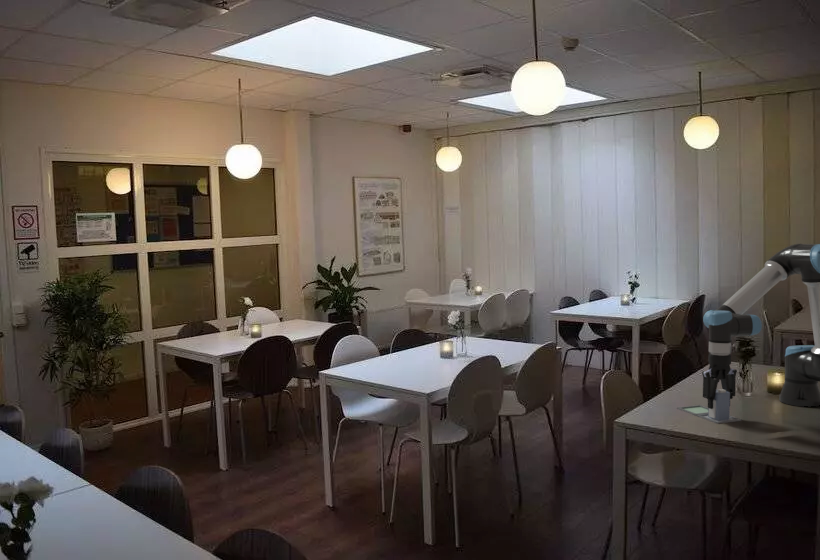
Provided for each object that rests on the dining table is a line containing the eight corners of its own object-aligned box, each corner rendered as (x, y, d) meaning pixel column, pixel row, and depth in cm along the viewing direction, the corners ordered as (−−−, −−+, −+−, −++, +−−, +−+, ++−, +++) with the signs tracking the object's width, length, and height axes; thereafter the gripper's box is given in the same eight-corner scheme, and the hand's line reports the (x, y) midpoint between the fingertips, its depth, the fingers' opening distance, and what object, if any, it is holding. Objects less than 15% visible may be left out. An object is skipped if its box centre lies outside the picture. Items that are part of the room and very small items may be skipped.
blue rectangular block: (719, 415, 254) (719, 387, 253) (729, 419, 249) (729, 390, 248) (708, 417, 252) (708, 388, 251) (718, 420, 247) (718, 391, 246)
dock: (704, 408, 269) (704, 403, 269) (748, 423, 247) (748, 418, 247) (670, 412, 264) (670, 407, 264) (711, 428, 243) (711, 423, 243)
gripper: (732, 349, 255) (731, 411, 257) (691, 353, 250) (691, 416, 251) (747, 353, 248) (746, 416, 249) (706, 357, 242) (705, 421, 244)
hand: (718, 416), depth 250 cm, fingers closed on blue rectangular block, 5 cm apart
